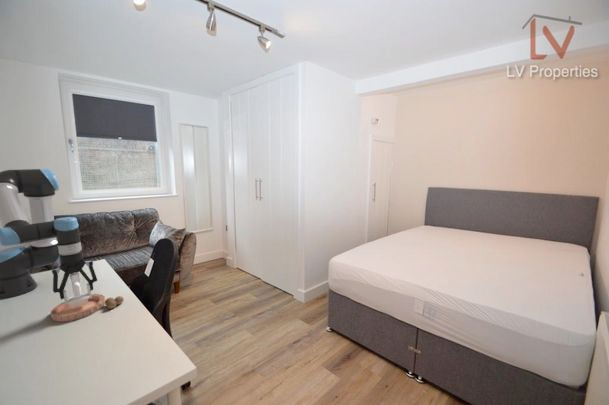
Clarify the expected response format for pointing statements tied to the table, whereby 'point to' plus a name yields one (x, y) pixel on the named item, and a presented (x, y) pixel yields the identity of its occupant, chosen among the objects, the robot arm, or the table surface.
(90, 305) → the dish
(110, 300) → the wooden beads
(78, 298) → the figurine
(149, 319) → the table surface
